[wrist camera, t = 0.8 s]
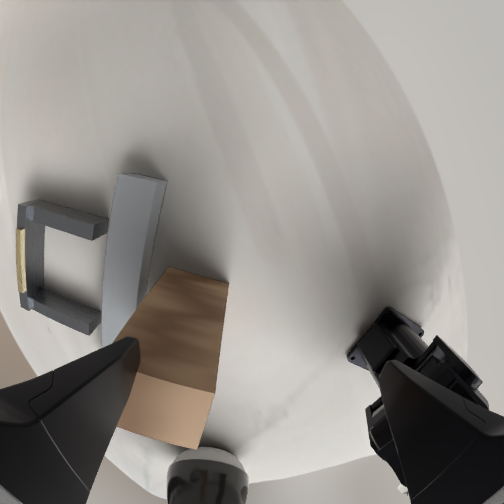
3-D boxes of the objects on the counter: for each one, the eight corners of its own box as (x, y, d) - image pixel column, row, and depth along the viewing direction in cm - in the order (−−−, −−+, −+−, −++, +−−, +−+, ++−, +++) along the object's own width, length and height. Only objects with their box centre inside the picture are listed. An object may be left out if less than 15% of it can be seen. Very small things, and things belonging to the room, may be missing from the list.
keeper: (108, 219, 20) (87, 227, 17) (100, 322, 22) (84, 341, 19) (38, 199, 19) (15, 204, 16) (37, 294, 22) (18, 308, 18)
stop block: (228, 283, 22) (214, 393, 10) (214, 334, 23) (197, 449, 11) (168, 266, 21) (101, 358, 10) (159, 319, 22) (107, 422, 11)
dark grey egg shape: (209, 476, 31) (204, 556, 16) (157, 447, 28) (136, 538, 14) (264, 460, 29) (271, 553, 15) (211, 428, 27) (201, 542, 12)
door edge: (167, 181, 19) (157, 182, 17) (138, 367, 24) (131, 382, 22) (132, 173, 19) (118, 173, 17) (112, 357, 24) (102, 372, 21)
